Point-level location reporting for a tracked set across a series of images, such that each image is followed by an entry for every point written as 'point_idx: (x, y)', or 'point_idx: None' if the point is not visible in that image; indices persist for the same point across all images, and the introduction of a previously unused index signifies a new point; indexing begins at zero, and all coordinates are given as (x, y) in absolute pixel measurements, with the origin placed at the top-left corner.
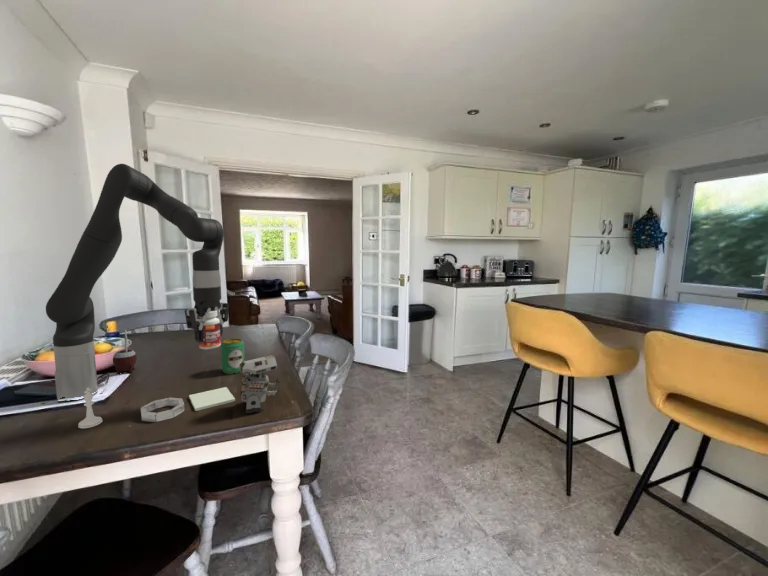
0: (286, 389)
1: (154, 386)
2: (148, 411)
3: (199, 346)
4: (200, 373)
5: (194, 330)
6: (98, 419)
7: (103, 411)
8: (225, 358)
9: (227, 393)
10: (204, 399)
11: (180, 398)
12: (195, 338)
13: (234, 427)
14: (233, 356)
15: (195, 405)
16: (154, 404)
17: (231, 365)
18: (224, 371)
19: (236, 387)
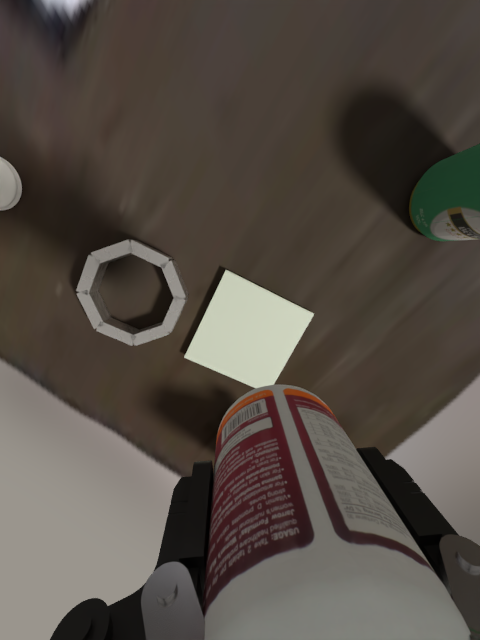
0: (371, 440)
1: (225, 66)
2: (113, 260)
3: (218, 431)
4: (381, 106)
5: (155, 570)
6: (2, 197)
7: (41, 127)
8: (455, 194)
9: (283, 352)
10: (228, 332)
11: (184, 294)
12: (174, 498)
13: (184, 474)
14: (473, 226)
15: (195, 342)
16: (130, 253)
17: (435, 224)
18: (412, 197)
19: (333, 326)
